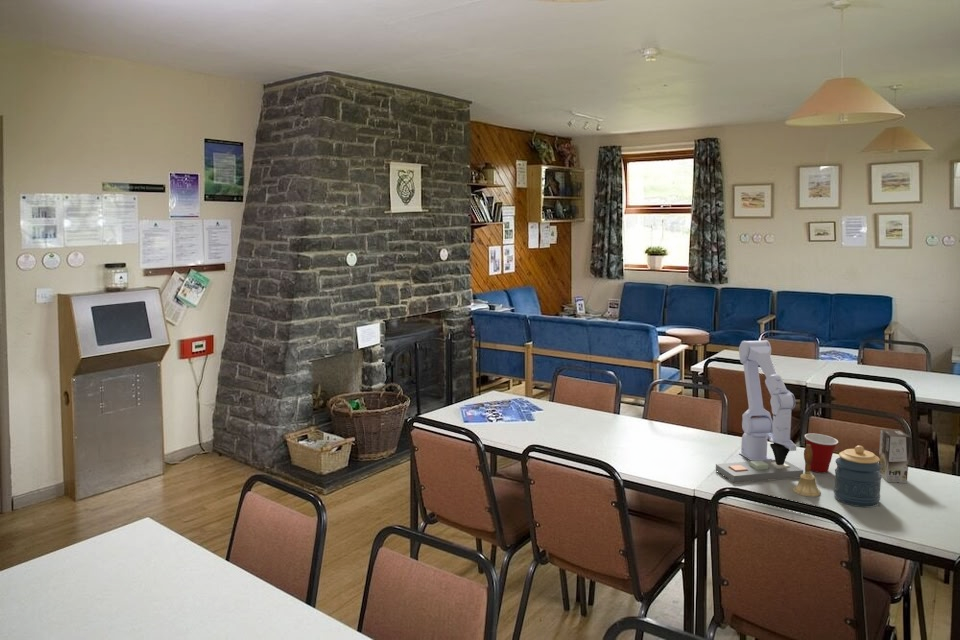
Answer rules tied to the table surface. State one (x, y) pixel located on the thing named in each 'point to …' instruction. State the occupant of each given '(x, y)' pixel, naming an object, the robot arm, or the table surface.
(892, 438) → the coffee box
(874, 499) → the canister
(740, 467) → the terracotta key
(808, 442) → the plastic cup
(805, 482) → the hand bell
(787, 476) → the keypad
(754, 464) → the sage key
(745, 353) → the robot arm
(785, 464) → the cream key
